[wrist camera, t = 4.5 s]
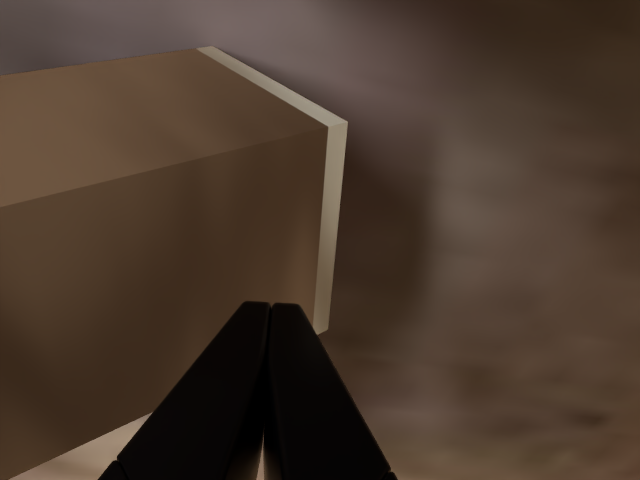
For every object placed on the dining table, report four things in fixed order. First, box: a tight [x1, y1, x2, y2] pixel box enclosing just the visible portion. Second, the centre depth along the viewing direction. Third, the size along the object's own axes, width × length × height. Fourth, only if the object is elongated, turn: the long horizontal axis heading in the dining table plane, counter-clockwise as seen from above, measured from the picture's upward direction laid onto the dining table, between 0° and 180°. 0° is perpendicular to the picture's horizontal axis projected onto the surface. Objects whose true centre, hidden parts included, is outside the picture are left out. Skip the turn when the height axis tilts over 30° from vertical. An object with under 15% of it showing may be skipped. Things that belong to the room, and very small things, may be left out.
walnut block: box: [0, 46, 348, 480], centre depth 10 cm, size 4×4×10 cm
